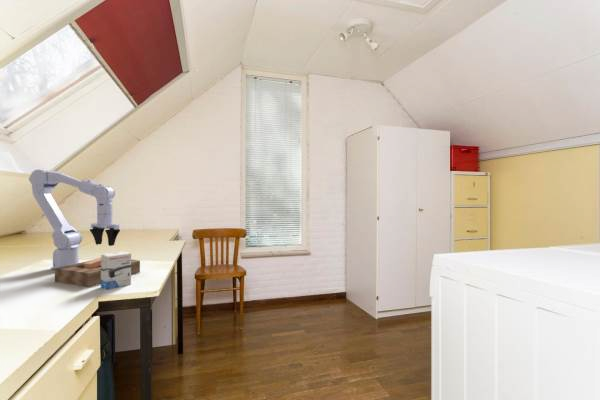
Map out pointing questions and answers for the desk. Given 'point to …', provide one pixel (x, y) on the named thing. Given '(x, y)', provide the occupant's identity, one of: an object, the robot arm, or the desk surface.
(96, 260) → the pink notched block
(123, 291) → the desk surface
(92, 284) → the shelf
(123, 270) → the ink box
